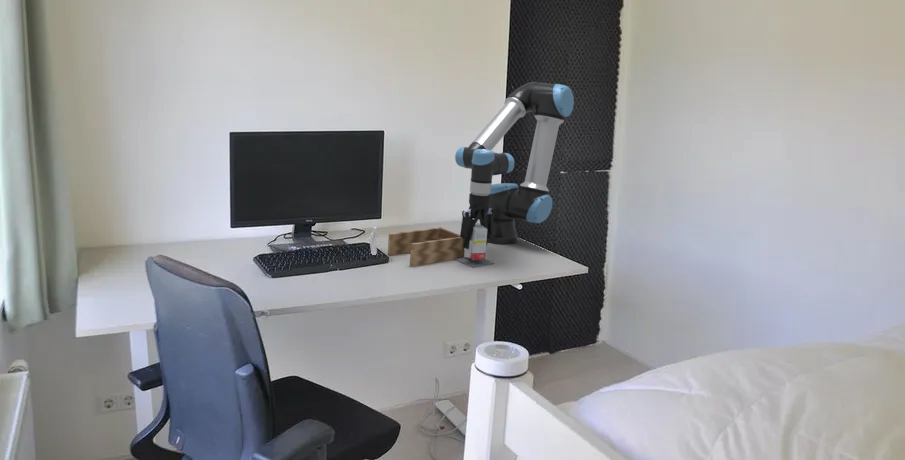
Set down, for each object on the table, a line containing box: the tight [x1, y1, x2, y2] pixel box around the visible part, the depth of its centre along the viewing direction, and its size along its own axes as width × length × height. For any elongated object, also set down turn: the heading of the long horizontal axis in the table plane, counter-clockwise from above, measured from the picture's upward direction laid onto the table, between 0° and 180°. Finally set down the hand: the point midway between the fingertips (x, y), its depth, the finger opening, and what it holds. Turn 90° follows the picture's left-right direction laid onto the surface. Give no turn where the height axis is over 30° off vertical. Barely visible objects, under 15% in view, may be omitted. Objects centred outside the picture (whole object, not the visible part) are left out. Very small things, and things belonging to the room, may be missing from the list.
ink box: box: [470, 222, 487, 260], centre depth 256 cm, size 9×5×12 cm, turn 19°
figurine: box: [364, 225, 380, 255], centre depth 252 cm, size 9×9×12 cm
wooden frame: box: [387, 226, 465, 267], centre depth 259 cm, size 24×15×8 cm, turn 129°
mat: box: [454, 256, 494, 269], centre depth 258 cm, size 10×10×1 cm
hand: (474, 255), depth 257 cm, fingers closed on ink box, 6 cm apart
